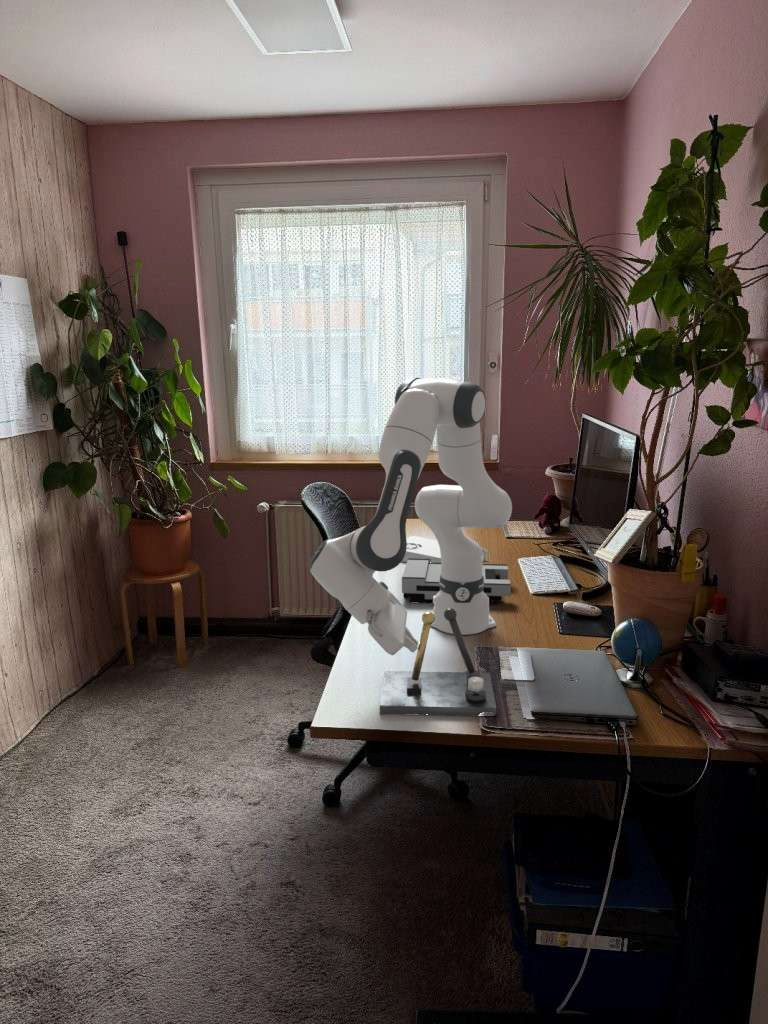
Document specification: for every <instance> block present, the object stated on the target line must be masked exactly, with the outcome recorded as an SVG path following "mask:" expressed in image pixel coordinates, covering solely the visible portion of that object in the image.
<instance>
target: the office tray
mask: <svg viewBox="0 0 768 1024" xmlns="http://www.w3.org/2000/svg"><path fill="white" fill-rule="evenodd" d="M508 566H509V565H508V564H504V563H499V564H498V563H483V564H482V575H483V577H484V590H483V592H484V593H485V594H486V595H487V597H489V607H490V606H494V602H502V599H503V597H511V593H512V592H511V591H512V589H511V587H512V585H511V584H512V583H511V579H509V567H508ZM440 575H441V563H429V559H413V558H408V560H407V563H405V567H404V570H403V573H402V576H401V593H402V594H403V595H402V596H403V597H402V598H403V599H409V603H410V602H418V603H417V604H429V603H433V596H436V594H437V593H438V592H439V591H440V588H439V586H440V584H439V579H440Z"/></svg>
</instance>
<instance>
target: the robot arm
mask: <svg viewBox="0 0 768 1024" xmlns="http://www.w3.org/2000/svg"><path fill="white" fill-rule="evenodd" d="M486 399H487V398H486V395H485V392H484V390H483V389H482V388H481V386H480V385H478V384H477V383H473V382H471V381H460V380H456V379H455V380H454V379H450V378H443V377H442V378H420V377H414V378H408V379H405V380H404V381H403V382H401V384H400V385H399V386H398V387H397V389H396V392H395V396H394V406H393V408H392V411H391V413H390V415H389V417H388V420H387V422H386V424H385V428H384V430H383V433H382V436H381V439H380V444H379V451H378V459H379V462H380V464H381V466H382V467H383V468H384V471H385V481H384V486H383V488H382V491H381V496H380V498H379V502H378V506H377V508H376V512H375V514H374V516H373V518H372V519H371V521H369V522H368V523H367V524H366V525H363V526H361V527H359V528H357V529H355V530H354V531H352V532H349V533H346V534H345V535H343V536H339V537H335V538H331V539H329V538H328V539H325V540H324V541H323V542H322V543H320V545H319V546H318V547H317V549H316V550H315V551H314V553H313V554H312V556H311V559H310V561H309V570H310V573H311V574H312V576H313V578H314V579H315V580H316V581H317V582H318V583H319V585H321V586H322V588H323V589H324V590H325V591H326V592H327V593H328V594H329V595H331V597H334V598H335V599H337V600H338V601H339V602H340V603H341V605H342V607H343V608H344V609H345V610H346V611H347V612H348V613H349V614H350V615H351V616H352V617H353V618H354V619H355V620H357V622H358V623H359V624H361V625H364V624H367V631H368V633H369V634H370V636H371V637H372V638H373V640H374V641H375V642H376V643H377V644H378V645H379V646H380V647H381V648H382V649H383V651H384V652H386V653H387V654H388V655H389V656H395V655H396V654H397V653H398V652H399V651H400V650H401V649H403V647H405V648H407V650H409V651H410V653H415V652H416V651H418V646H419V641H418V640H417V639H416V638H415V637H414V636H413V634H412V633H411V631H410V629H409V628H408V627H407V626H406V625H407V617H408V612H407V608H405V605H403V604H402V603H401V602H400V600H399V599H398V598H397V597H396V596H395V595H394V593H392V592H391V591H390V590H389V585H388V584H387V583H385V582H384V581H378V580H376V579H375V578H374V577H373V576H374V573H375V572H388V571H391V570H393V569H395V568H396V567H397V566H399V565H400V564H401V563H402V562H401V561H402V560H403V558H404V556H405V553H406V548H407V540H406V538H407V531H406V526H407V525H406V524H407V518H408V516H409V512H410V508H411V505H412V503H413V502H412V501H413V498H414V494H415V490H416V486H417V484H418V479H419V478H420V475H421V472H422V470H423V468H424V466H425V464H426V461H427V459H428V457H429V454H430V451H431V448H432V446H433V442H434V440H435V436H436V446H437V461H438V466H439V469H440V471H441V472H442V473H443V474H444V476H446V477H447V478H450V479H451V480H453V481H455V483H457V484H434V485H427V486H423V487H422V488H421V489H420V490H419V491H418V493H417V495H416V497H415V499H414V510H415V513H416V515H417V517H418V519H419V520H420V521H421V522H423V524H425V525H426V526H427V527H428V528H429V529H430V530H431V532H432V533H433V535H434V537H435V538H436V539H435V540H437V541H438V543H439V547H440V553H441V575H440V579H439V584H440V586H439V588H440V591H439V592H438V593H437V594H436V596H433V603H434V604H433V608H432V611H431V612H432V613H433V614H434V616H435V621H434V623H433V624H431V626H430V628H431V627H432V628H435V629H438V630H439V631H441V632H445V633H447V634H452V635H454V634H453V631H452V628H451V626H450V623H449V621H448V620H446V619H445V617H444V611H445V610H446V609H447V608H453V609H454V610H455V611H456V613H457V616H456V621H457V623H458V626H459V629H460V631H461V634H462V636H465V635H475V634H479V633H482V632H484V631H485V630H487V629H490V628H494V627H496V625H497V624H496V621H495V619H494V618H493V617H492V616H491V615H490V605H489V597H487V595H486V594H485V593H484V592H483V590H484V577H483V575H482V564H484V563H483V556H484V552H482V549H483V548H482V547H481V545H480V544H478V542H476V541H475V540H473V538H470V537H468V536H467V534H465V532H464V531H463V529H462V528H472V529H484V530H485V529H494V528H501V527H504V526H505V525H506V524H507V523H508V522H509V520H510V518H511V516H512V512H513V503H512V499H511V497H510V496H509V494H508V492H506V491H505V490H504V489H502V488H501V487H500V486H499V485H497V484H496V483H495V481H494V480H492V478H491V476H489V474H488V472H487V470H486V467H485V464H484V459H483V458H484V457H483V451H482V436H481V435H482V433H481V424H480V422H481V421H482V419H483V417H484V415H485V411H486V406H487V400H486Z"/></svg>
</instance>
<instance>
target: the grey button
mask: <svg viewBox="0 0 768 1024" xmlns="http://www.w3.org/2000/svg"><path fill="white" fill-rule="evenodd" d="M483 683H484V680H483V679H482V678H480V677H471V678H469V679H468V689H469V690H470V691H474V692H479V691H482V690H483Z"/></svg>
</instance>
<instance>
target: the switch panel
mask: <svg viewBox="0 0 768 1024" xmlns="http://www.w3.org/2000/svg"><path fill="white" fill-rule="evenodd" d="M412 674H413V671H408V670H407V671H406V670H405V671H403V670H402V671H401V670H400V671H398V670H397V671H395V670H384V674H383V678H382V679H383V681H382V686H381V687H382V688H381V692H380V693H381V694H380V700H379V715H389V714H419V715H418V716H435V715H450V716H449V717H479V716H478V715H479V714H480V713H482V712H493V713H496V714H497V705H496V704H497V703H496V699H495V694H494V693H495V692H494V688H493V683H492V678H491V673H490V672H480V670H475V672H474V673H472V674H469V673H468V671H467V670H465V672H461V671H460V672H458V671H457V672H453V671H452V672H450V671H448V672H447V671H421V672H420V676H419V680H418V681H415V680H413V679H412ZM471 677H480V678H482V679H483V680H484V683H483V690H482V691H479V692H474V691H470V690H469V689H468V679H469V678H471ZM422 714H423V715H422ZM426 714H428V715H426ZM454 715H455V716H454ZM458 715H460V716H458Z"/></svg>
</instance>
